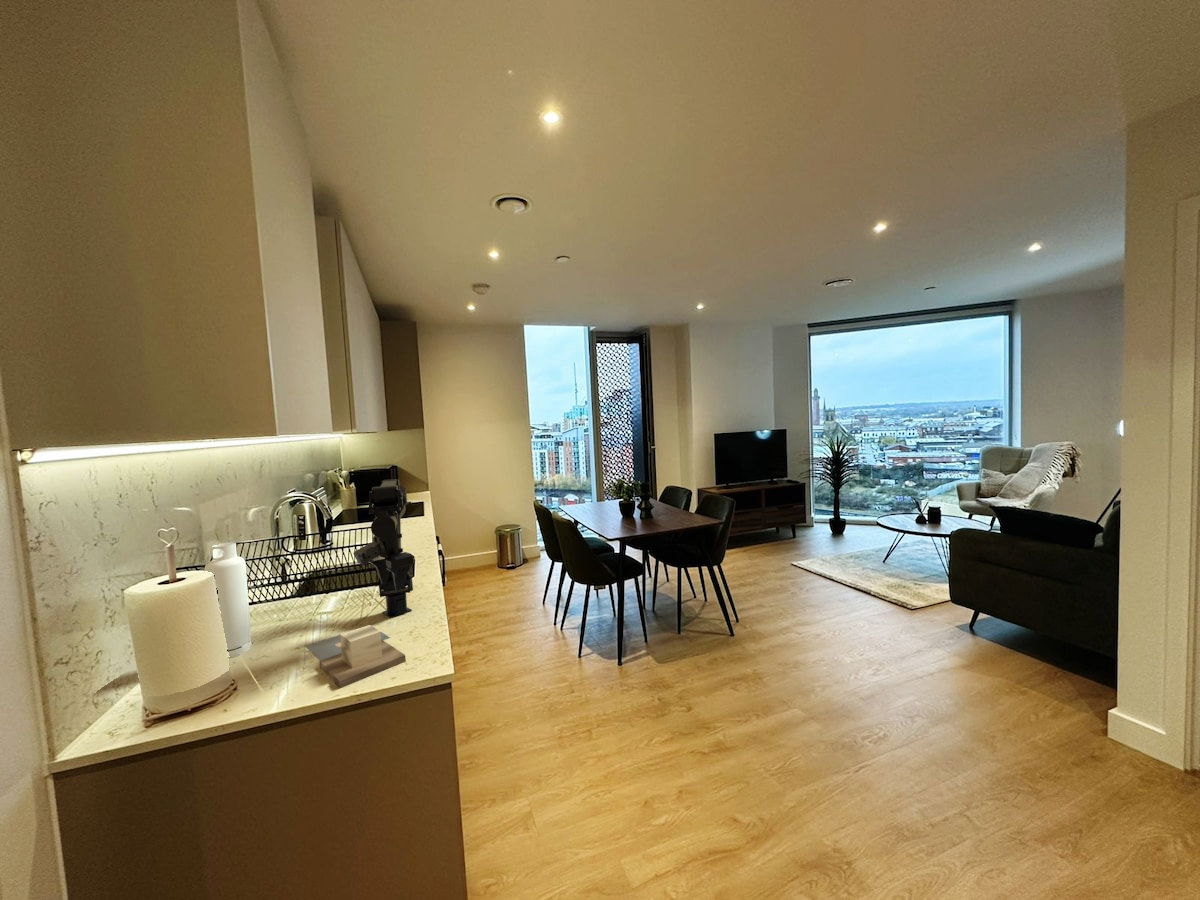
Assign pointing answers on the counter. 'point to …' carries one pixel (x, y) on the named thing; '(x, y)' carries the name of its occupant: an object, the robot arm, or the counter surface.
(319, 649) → the tile
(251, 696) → the counter surface
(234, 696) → the counter surface
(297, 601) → the counter surface
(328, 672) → the walnut pad
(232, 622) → the bottle
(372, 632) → the oak block
